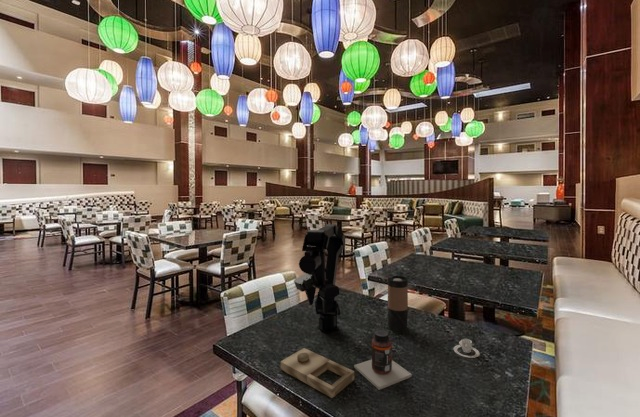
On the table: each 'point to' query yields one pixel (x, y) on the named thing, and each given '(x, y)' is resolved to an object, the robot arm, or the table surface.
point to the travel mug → (397, 303)
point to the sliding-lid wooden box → (316, 371)
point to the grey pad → (382, 379)
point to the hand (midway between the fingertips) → (318, 308)
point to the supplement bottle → (381, 353)
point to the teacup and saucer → (466, 348)
